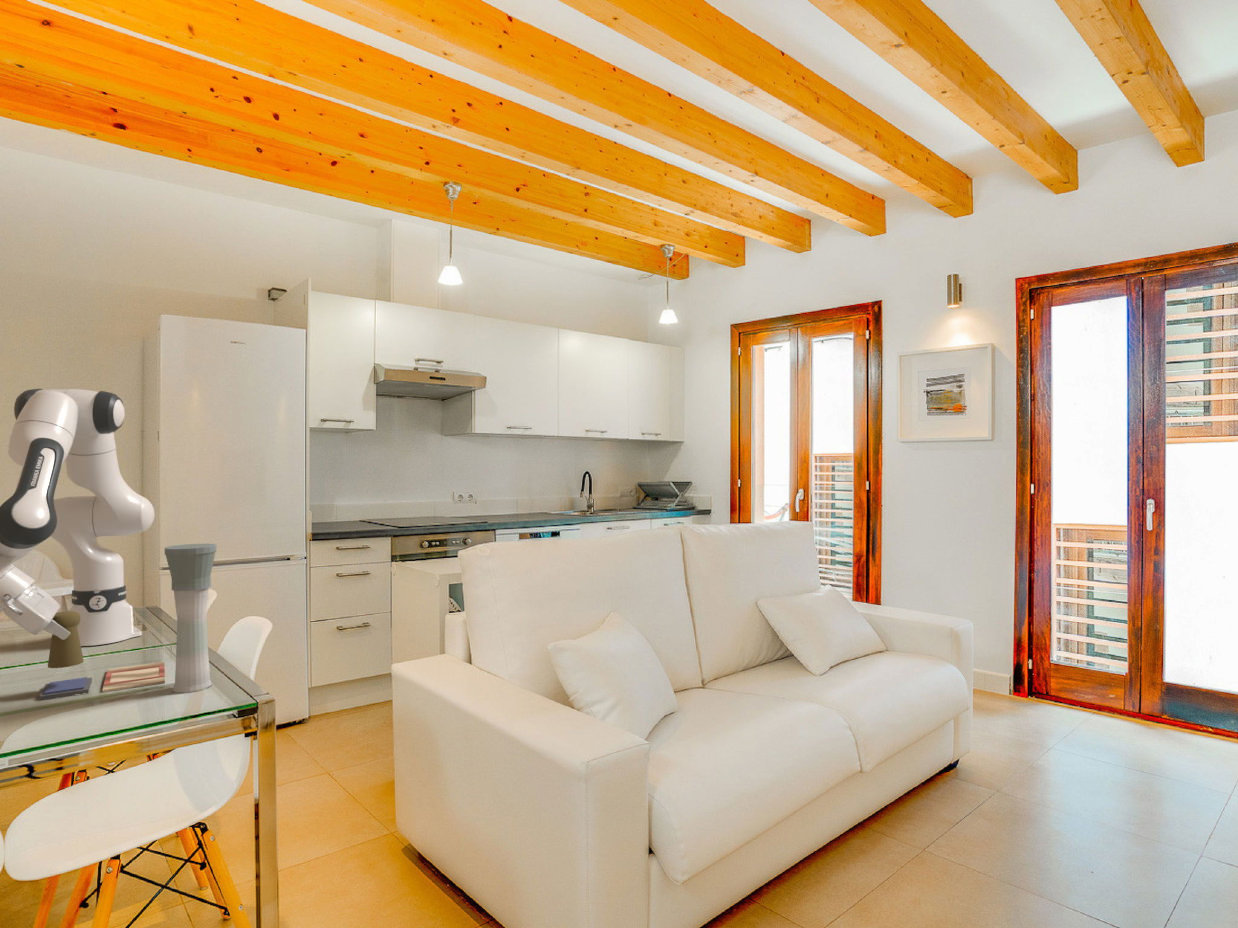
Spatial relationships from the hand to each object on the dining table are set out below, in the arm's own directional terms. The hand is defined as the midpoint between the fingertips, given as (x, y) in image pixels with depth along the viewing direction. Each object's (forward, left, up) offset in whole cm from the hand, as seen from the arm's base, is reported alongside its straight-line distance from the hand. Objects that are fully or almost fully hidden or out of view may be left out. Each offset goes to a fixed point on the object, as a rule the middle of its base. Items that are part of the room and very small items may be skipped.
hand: (69, 633), depth 153 cm
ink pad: (0, -1, -12) cm, 12 cm away
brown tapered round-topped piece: (0, -1, -6) cm, 6 cm away
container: (+13, +22, -12) cm, 28 cm away
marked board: (-3, +11, -12) cm, 17 cm away
